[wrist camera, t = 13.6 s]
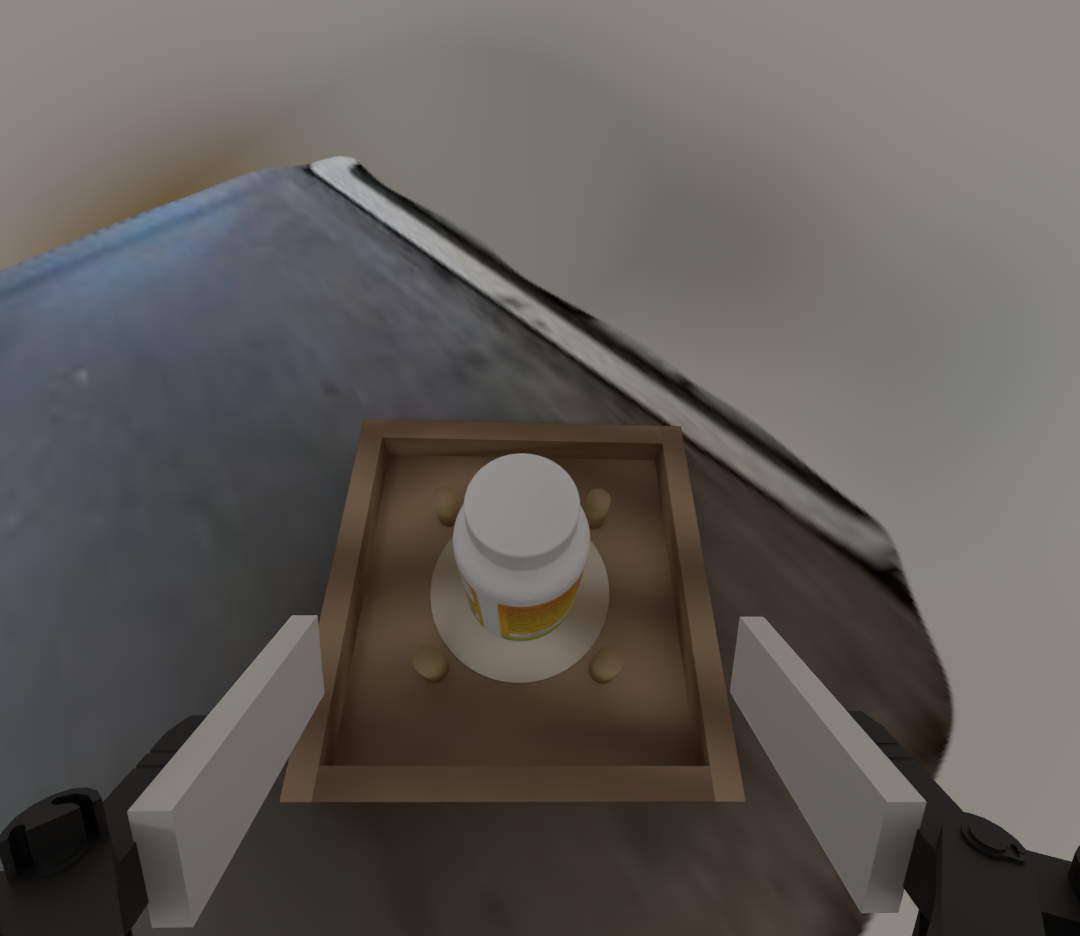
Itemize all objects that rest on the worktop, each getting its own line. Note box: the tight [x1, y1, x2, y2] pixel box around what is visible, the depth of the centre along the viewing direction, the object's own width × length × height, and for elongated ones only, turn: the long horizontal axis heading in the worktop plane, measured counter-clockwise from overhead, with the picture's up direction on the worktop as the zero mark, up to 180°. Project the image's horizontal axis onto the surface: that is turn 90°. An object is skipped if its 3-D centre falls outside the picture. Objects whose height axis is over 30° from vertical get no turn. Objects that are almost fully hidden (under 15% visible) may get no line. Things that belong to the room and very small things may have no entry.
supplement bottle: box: [453, 453, 590, 642], centre depth 21 cm, size 5×5×10 cm
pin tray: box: [279, 419, 746, 802], centre depth 25 cm, size 18×18×4 cm
